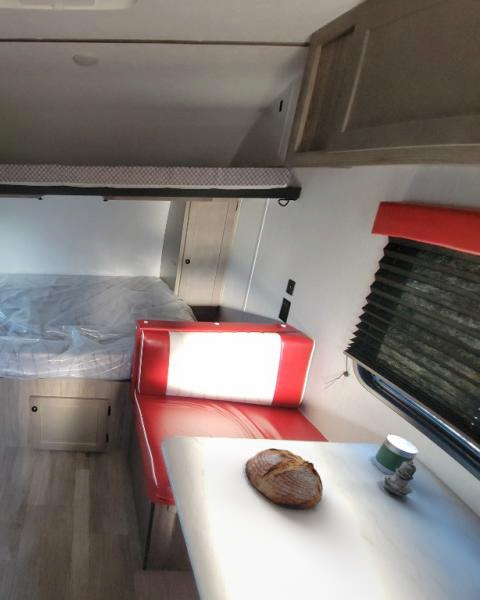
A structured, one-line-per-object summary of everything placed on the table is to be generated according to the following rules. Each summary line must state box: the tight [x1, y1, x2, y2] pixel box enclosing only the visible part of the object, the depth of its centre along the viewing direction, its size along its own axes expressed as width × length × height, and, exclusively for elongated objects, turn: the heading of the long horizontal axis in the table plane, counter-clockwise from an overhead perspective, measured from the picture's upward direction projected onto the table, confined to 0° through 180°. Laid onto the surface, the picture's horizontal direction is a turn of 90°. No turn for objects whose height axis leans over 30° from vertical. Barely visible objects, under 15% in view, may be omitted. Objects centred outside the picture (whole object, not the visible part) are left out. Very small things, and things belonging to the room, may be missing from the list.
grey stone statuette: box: [381, 461, 417, 500], centre depth 91 cm, size 6×6×12 cm
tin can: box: [372, 434, 419, 476], centre depth 100 cm, size 7×7×10 cm
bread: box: [244, 447, 324, 510], centre depth 90 cm, size 16×20×10 cm
